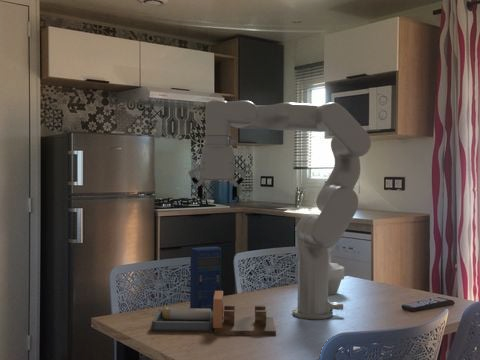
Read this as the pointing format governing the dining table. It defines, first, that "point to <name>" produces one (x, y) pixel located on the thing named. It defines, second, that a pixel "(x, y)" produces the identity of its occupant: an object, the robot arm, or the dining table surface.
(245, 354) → the dining table surface
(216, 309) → the orange bracket
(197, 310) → the yellow-tipped white cylinder
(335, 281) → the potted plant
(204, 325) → the tray
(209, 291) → the electronic device
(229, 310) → the cradle board
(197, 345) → the dining table surface
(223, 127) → the robot arm
